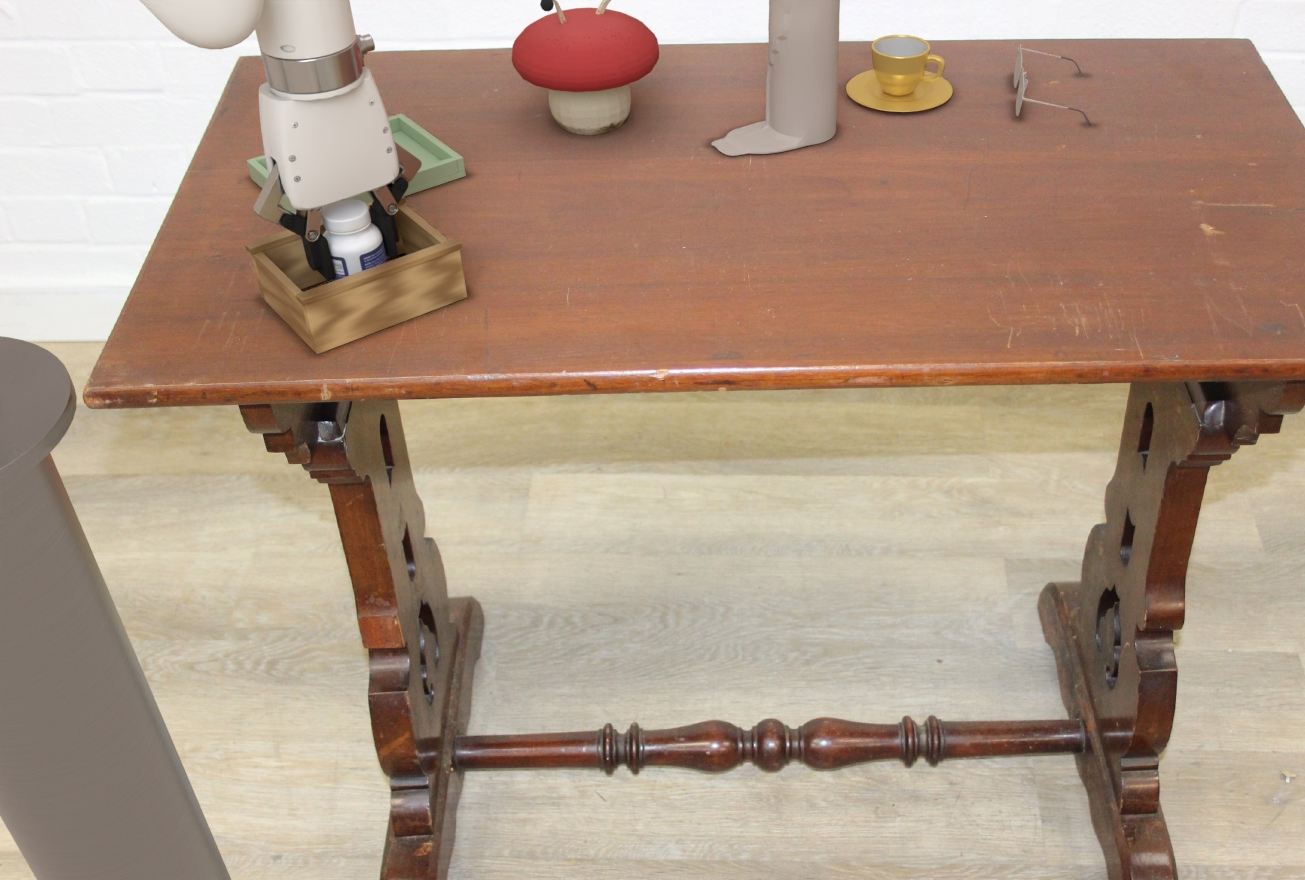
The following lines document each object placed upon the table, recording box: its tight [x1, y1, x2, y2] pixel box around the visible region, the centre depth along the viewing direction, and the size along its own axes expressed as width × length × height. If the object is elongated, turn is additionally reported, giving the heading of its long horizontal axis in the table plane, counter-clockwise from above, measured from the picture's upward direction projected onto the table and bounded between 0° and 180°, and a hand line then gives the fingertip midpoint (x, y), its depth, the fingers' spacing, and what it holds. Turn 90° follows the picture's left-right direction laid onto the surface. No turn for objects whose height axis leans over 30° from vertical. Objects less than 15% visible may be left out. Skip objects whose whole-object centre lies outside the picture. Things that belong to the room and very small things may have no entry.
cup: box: [845, 34, 954, 113], centre depth 157 cm, size 12×12×5 cm
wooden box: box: [244, 196, 468, 355], centre depth 124 cm, size 15×12×6 cm
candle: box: [710, 0, 841, 157], centre depth 144 cm, size 7×14×20 cm, turn 116°
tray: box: [246, 113, 467, 218], centre depth 144 cm, size 18×14×2 cm
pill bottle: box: [322, 199, 389, 283], centre depth 123 cm, size 5×5×9 cm
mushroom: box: [511, 0, 660, 136], centre depth 149 cm, size 16×16×15 cm
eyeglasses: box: [1013, 44, 1093, 126], centre depth 156 cm, size 14×8×4 cm, turn 173°
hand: (356, 260), depth 124 cm, fingers closed on pill bottle, 5 cm apart
